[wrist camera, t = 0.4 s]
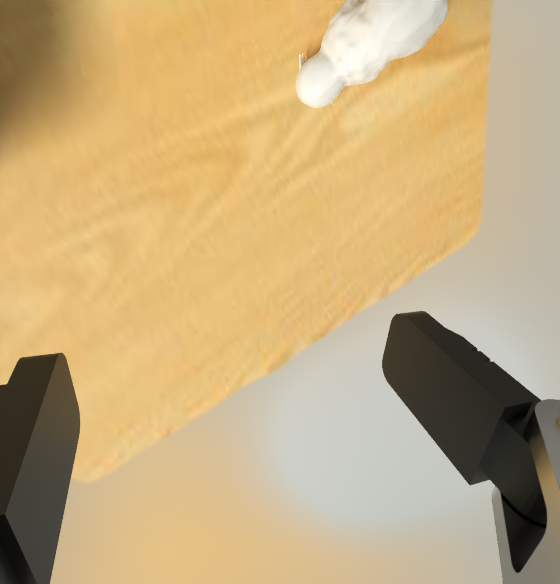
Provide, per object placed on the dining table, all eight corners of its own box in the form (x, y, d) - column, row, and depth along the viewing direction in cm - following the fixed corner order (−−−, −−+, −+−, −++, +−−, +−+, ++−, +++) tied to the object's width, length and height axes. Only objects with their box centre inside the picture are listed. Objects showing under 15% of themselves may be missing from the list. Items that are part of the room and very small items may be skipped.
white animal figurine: (474, 17, 27) (345, 138, 29) (410, 27, 34) (311, 124, 36) (437, -78, 24) (296, 66, 26) (375, -45, 31) (268, 67, 33)
